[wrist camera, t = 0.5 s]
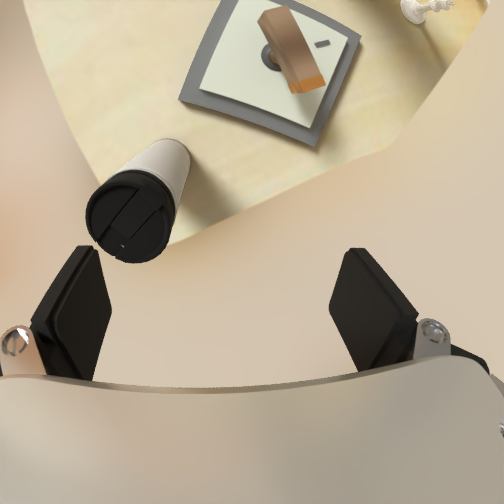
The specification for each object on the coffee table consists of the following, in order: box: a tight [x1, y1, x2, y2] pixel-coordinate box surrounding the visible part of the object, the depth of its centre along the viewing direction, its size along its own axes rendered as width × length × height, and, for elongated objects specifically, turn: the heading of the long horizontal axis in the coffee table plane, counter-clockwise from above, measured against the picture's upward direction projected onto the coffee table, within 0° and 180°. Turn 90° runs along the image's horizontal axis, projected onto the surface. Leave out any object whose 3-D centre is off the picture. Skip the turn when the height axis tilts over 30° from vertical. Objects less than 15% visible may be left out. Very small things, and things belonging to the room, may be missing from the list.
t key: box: [257, 5, 326, 94], centre depth 23 cm, size 9×2×7 cm, turn 25°
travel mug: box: [85, 139, 191, 263], centre depth 24 cm, size 6×7×20 cm
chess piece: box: [400, 0, 456, 24], centre depth 19 cm, size 5×5×10 cm
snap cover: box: [178, 0, 361, 147], centre depth 27 cm, size 18×18×3 cm
